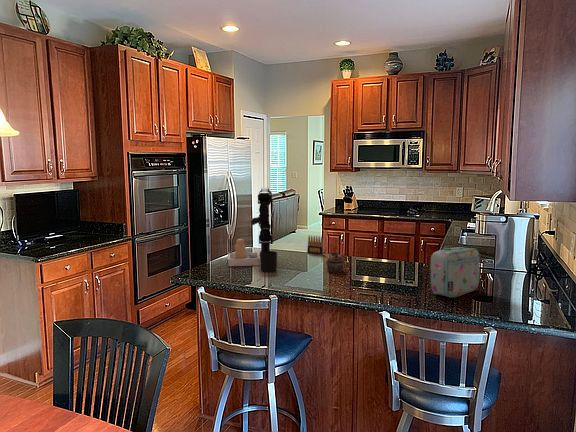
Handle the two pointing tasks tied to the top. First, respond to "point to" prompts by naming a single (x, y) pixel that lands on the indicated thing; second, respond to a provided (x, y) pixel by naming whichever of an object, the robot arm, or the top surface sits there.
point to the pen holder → (268, 261)
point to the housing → (248, 261)
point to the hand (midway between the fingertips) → (264, 238)
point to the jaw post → (240, 249)
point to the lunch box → (455, 271)
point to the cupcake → (334, 262)
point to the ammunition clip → (315, 245)
